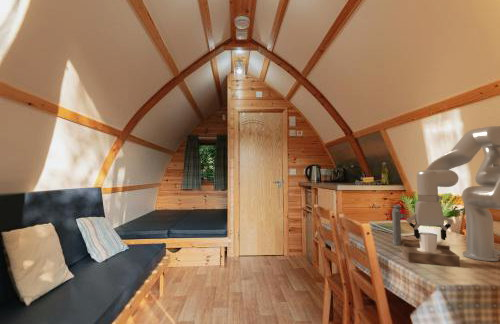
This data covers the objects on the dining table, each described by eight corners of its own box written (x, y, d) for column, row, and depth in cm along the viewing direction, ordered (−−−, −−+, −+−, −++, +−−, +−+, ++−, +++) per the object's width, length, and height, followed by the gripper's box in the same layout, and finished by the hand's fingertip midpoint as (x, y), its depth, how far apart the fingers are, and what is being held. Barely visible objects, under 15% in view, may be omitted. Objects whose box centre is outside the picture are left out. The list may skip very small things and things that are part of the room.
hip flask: (393, 238, 160) (392, 204, 161) (401, 239, 158) (400, 204, 159) (392, 244, 146) (392, 206, 147) (401, 245, 144) (400, 207, 145)
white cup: (441, 252, 115) (440, 235, 115) (423, 251, 116) (422, 235, 116) (433, 248, 121) (432, 232, 122) (416, 247, 123) (415, 231, 123)
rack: (449, 258, 121) (448, 245, 121) (459, 266, 110) (459, 252, 110) (402, 254, 127) (402, 242, 127) (408, 262, 116) (408, 248, 116)
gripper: (448, 198, 121) (450, 238, 120) (403, 198, 126) (405, 236, 125) (454, 199, 113) (457, 242, 113) (407, 199, 119) (409, 239, 118)
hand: (430, 238), depth 119 cm, fingers open, 9 cm apart
